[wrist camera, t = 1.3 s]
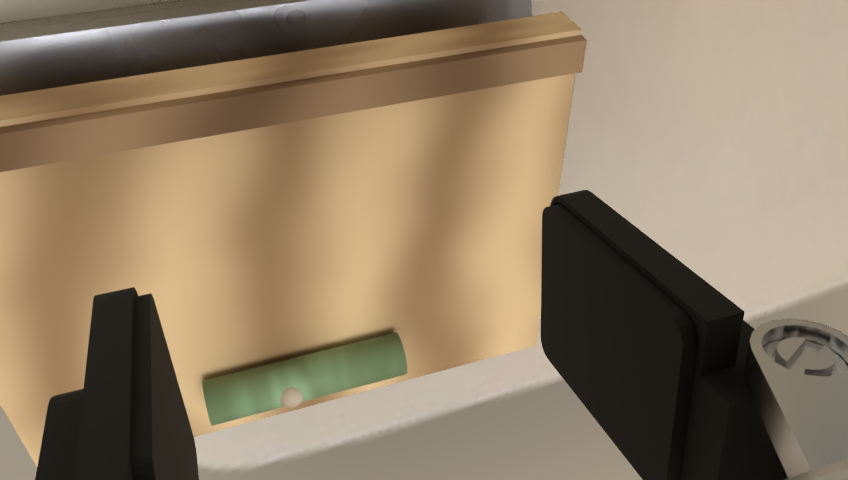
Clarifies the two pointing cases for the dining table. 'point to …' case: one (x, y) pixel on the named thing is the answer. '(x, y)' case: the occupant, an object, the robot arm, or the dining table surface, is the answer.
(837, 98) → the dining table surface
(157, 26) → the stand
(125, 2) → the dining table surface
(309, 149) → the tan flat piece
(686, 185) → the dining table surface
